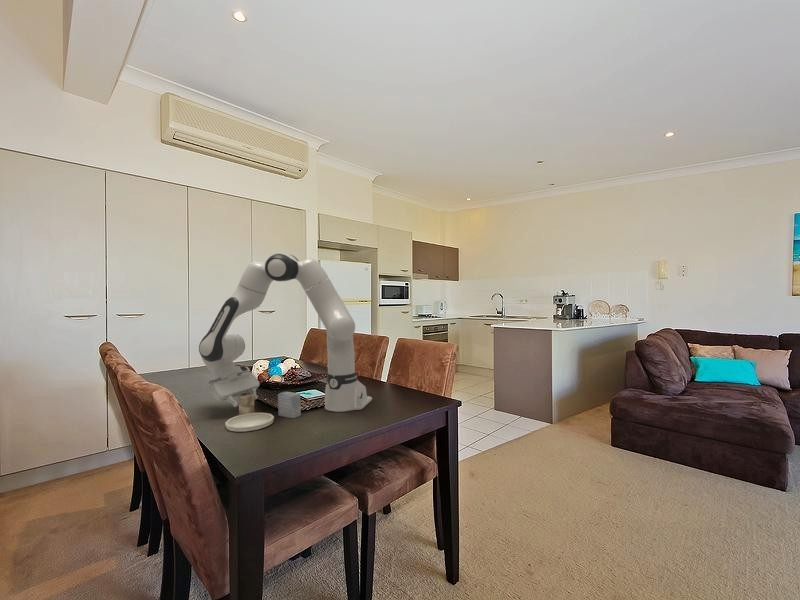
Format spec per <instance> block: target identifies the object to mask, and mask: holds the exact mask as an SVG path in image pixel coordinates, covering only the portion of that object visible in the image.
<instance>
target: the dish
mask: <svg viewBox="0 0 800 600" xmlns="http://www.w3.org/2000/svg"><path fill="white" fill-rule="evenodd" d="M274 420H275V415H273V414H272V413H268V412H254V413H248V414H243V415H239V414H238V415H235V416H234V417H231V418H228V419H227V420H226V421H225V422H224V424H225V428H226V430H228V431H230V432H236V433H237V432H239V433H241V432H242V433H243V432H252V431H256V430H257V431H258V430H261V429H264V428H266V427H267V428H268V426H270V425H272V424H273V423H274Z"/></svg>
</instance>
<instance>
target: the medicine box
mask: <svg viewBox="0 0 800 600" xmlns="http://www.w3.org/2000/svg"><path fill="white" fill-rule="evenodd" d="M301 408H302V407H301V393H300V392H299V393H297V392H291V391H282V392H280V393H278V394H277V409H278V411H277V413H278V416H280V417H285V418H289V419H296V418H298V417H300V416H301V415H302V410H301Z"/></svg>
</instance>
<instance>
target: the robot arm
mask: <svg viewBox="0 0 800 600" xmlns="http://www.w3.org/2000/svg"><path fill="white" fill-rule="evenodd" d="M291 280H297V281H298V282H299V284H300V285H301V287H302V288H303V290H304V292H305V294H306V296H307V297H308V300H309V301H310V303H311V304H312V306H313V309H314V310H315V312H316V313H317V315H318V317H319V319H320V321H321V322H322V324H323V327H324V328H325V331H326V348H327V349H326V352H327V373H326V382H327V384H326V385H325V390H324V401H325V403H324V404H325V406H324V409H325V410H327V411H331V412H339V413H340V412H350V411H356V410H357V411H359V410H362V409H364V408H365V407H366V406H367V405H368V404H369V403H370V402H371V401H372V400H373V397H372V396H370V395H367V388H366V385H364V384H363V383H361V382H360V380H358V377H360V376H361V371H359V370H356V368H355V364H356V361H355V359H356V358H355V344H354V333H355V330H356V323H355V319H354V318H353V317H352V316H351V314H350V312H349V310H348V309H347V307H346V305H345V304H344V302H343V300H342V299H341V297H340V295H339V294H338V291H337V290H336V288H335V286H334V285H333V283H332V281H331V278H330V277H329V276H328V274H327V272H326V271H325V269H324V268H323V267H322V265H321V264H320V262H318V261H317V260H316V259H315V258H310V257H309V258H305V259H302V260H299V259H298V258H297V257H296V256H295V255H292V254H288V253H285V252H284V253H283V252H282V253H275V254H272V255H271V256H269V257H268V259H266V261H265V262H263V261H259V260H254V261H251V262H250V263H249V264H248V266H247V267H246V269H244V272H243V273H242V275H241V278H240V280H239V282H238V285H237V287H236V289H235V290H234V292H233V293H232V295H230V297H229V298H228V299H226V300H225V302H224V303H223V304H222V306H221V308H220V310H219V312H218V314H217V315H216V317H215V319H214V321H213V322H212V324H211V325H210V326H211V327H210V328H209V329H208V331H207V333H206V334H205V335H204V336H203V338H202V339H201V341H200V342H199V345H198V352H199V355H200V357H201V359H202V362H203V364H204V365H205V366H206V368H207V370H209V371H210V372H211V373H212V376H213V378H214V379H211V380H208V382H207V387H208V389H209V390H210V392H211V395H212V396H213V398H214V400H215V401H217V402H224V401H226V402H227V403H229V404H230V405H232V406H233V408H236V407H239V399H238V400H235V399H234V398H235V397H240V396H243V395H246V394H248V393H249V395H254V401H256V400H257V399H258V398H259V396H258V395H257V392H256V391H257V390H258V388H259V387H260V381H259V380H258V379H257V377H256V375H254V373H252V372H251V371H250V368H249V367H248V366H241V365H235V363H234V361H235V360H237V359H238V358H239V357H241V356H242V355H243V354H244V353H245V352H244V351H245V349H246V343H245V341H244V338H243V337H242V336H241V335H240V334H227V333H228V331H229V330H230V328H231V325H232V324H233V322H234V321H235V319H237V318H238V317H239V316H241V315H243V314H245V313H247V312H250V311H253V310H256V309H257V308H259V307H260V306H261V305H262V303H263V302H264V300H265V298H266V295H267V294H268V293H267V292H268V290H269V288H270V285H271V284H272V282H273V281H275V282H288V281H291Z"/></svg>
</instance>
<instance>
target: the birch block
mask: <svg viewBox="0 0 800 600" xmlns="http://www.w3.org/2000/svg"><path fill="white" fill-rule="evenodd" d="M238 402H239V405H238V415H243V414H248V413H255V400H254V395H252V394H248V393H245V394H242V395H239V396H238Z"/></svg>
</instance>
